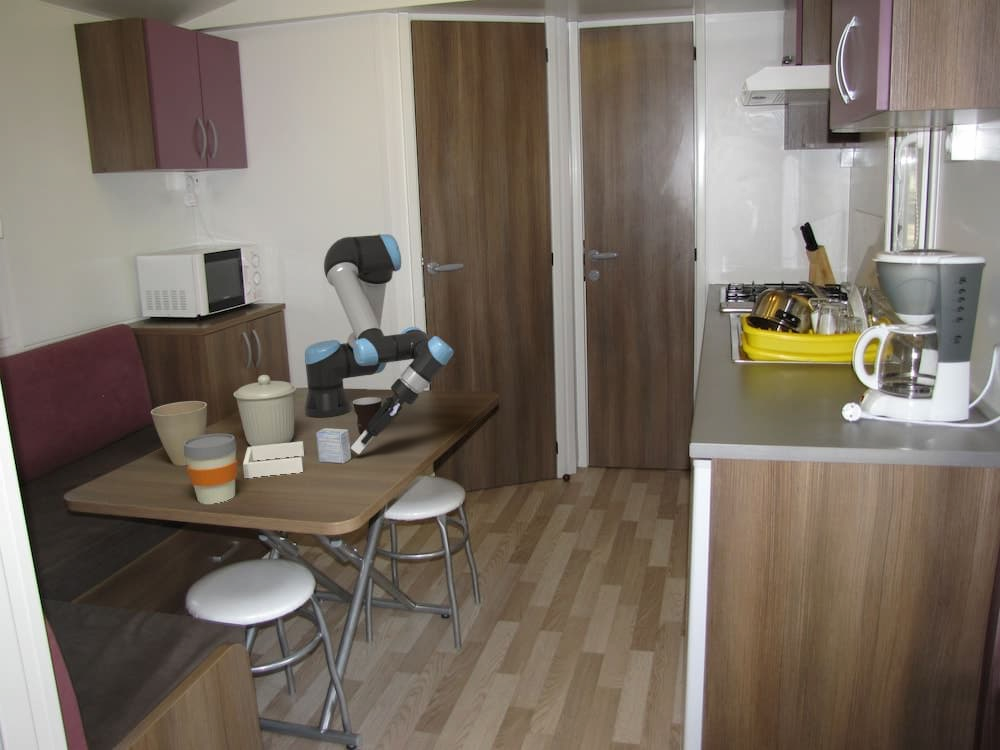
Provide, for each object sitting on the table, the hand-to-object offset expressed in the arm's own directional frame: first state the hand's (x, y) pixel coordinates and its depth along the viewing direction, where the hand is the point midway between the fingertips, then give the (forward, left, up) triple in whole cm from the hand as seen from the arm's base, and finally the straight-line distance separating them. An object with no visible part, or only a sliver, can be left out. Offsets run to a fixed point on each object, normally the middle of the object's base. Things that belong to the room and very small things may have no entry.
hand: (354, 450), depth 252 cm
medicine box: (-1, -6, -3) cm, 6 cm away
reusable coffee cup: (+20, -35, -3) cm, 40 cm away
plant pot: (-14, -47, -3) cm, 49 cm away
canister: (-24, -24, -3) cm, 35 cm away
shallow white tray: (-1, -21, -3) cm, 21 cm away
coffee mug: (-27, +6, -3) cm, 28 cm away
